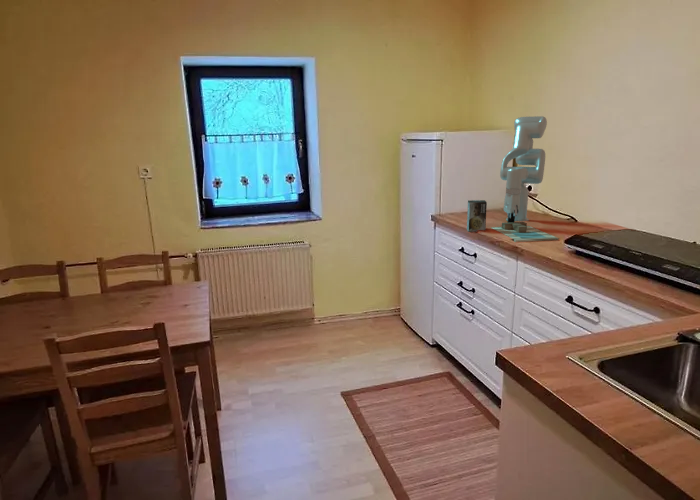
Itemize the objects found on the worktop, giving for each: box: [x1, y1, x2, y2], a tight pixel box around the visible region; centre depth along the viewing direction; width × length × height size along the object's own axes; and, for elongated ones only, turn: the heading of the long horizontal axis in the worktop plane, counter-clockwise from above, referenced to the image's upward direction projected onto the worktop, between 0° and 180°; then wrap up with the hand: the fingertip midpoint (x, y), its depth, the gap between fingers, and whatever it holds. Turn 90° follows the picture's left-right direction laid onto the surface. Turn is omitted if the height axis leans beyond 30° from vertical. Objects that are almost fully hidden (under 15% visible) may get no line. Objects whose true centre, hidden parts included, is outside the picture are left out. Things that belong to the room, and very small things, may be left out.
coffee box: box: [466, 199, 488, 233], centre depth 241 cm, size 9×6×16 cm
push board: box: [490, 225, 560, 243], centre depth 233 cm, size 30×22×1 cm
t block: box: [501, 221, 528, 233], centre depth 238 cm, size 12×12×3 cm
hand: (510, 225), depth 246 cm, fingers closed
